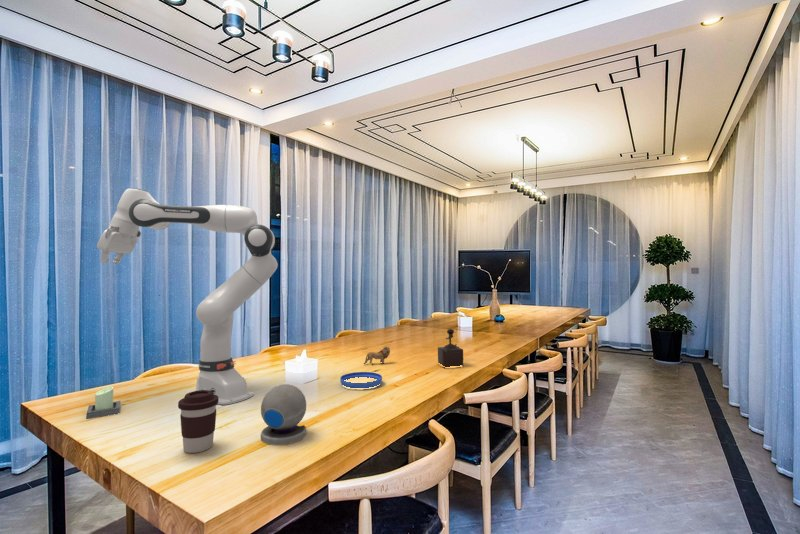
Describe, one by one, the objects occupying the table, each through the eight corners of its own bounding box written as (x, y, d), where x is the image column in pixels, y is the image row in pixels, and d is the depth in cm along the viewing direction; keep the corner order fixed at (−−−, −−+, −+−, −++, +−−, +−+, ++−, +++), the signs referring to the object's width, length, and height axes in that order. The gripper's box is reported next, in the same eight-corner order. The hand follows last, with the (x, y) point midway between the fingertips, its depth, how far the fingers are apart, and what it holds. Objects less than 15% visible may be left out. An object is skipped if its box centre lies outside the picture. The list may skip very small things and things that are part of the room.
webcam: (313, 429, 123) (313, 380, 123) (293, 447, 110) (293, 393, 110) (275, 425, 125) (275, 378, 126) (251, 442, 113) (251, 389, 113)
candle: (98, 416, 134) (99, 391, 134) (92, 413, 136) (92, 389, 136) (115, 411, 138) (116, 388, 138) (109, 409, 140) (109, 385, 141)
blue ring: (359, 377, 184) (359, 369, 184) (390, 383, 174) (390, 375, 174) (331, 386, 170) (331, 378, 170) (363, 394, 159) (363, 385, 159)
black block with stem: (465, 367, 202) (465, 332, 202) (445, 369, 199) (445, 333, 199) (452, 361, 217) (452, 328, 217) (433, 362, 214) (433, 329, 214)
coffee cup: (187, 440, 114) (188, 388, 114) (223, 439, 115) (223, 387, 115) (170, 456, 104) (171, 399, 104) (210, 455, 105) (210, 398, 105)
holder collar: (89, 411, 138) (89, 405, 138) (120, 406, 143) (120, 400, 143) (86, 419, 131) (86, 413, 131) (119, 413, 136) (119, 407, 136)
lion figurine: (388, 362, 214) (388, 345, 214) (391, 364, 209) (391, 347, 209) (361, 364, 209) (361, 347, 209) (364, 366, 204) (364, 349, 204)
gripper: (119, 228, 141) (104, 265, 140) (143, 234, 161) (130, 266, 160) (100, 222, 140) (85, 259, 138) (126, 228, 160) (113, 261, 158)
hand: (109, 263), depth 149 cm, fingers open, 8 cm apart
